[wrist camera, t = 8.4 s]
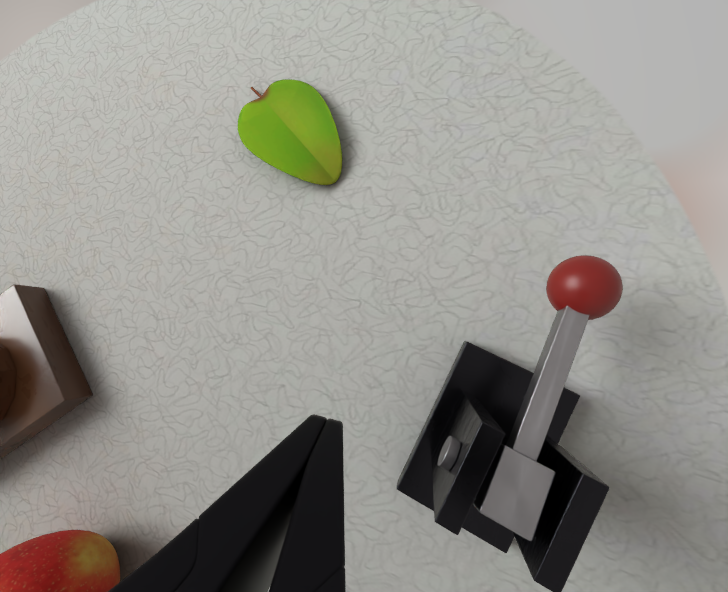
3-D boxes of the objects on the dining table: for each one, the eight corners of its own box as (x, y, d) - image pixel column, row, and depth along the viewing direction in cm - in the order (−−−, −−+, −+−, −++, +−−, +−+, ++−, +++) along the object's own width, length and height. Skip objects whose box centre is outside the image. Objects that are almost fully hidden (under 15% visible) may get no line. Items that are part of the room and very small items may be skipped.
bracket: (464, 340, 23) (488, 346, 14) (572, 392, 22) (670, 432, 13) (397, 481, 23) (380, 572, 14) (502, 542, 21) (554, 684, 13)
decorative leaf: (337, 75, 27) (335, 65, 26) (345, 184, 25) (342, 177, 24) (239, 90, 27) (234, 80, 26) (241, 197, 26) (235, 191, 25)
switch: (548, 260, 20) (577, 234, 17) (606, 284, 19) (647, 261, 16) (454, 489, 17) (468, 507, 14) (519, 526, 16) (550, 554, 13)
